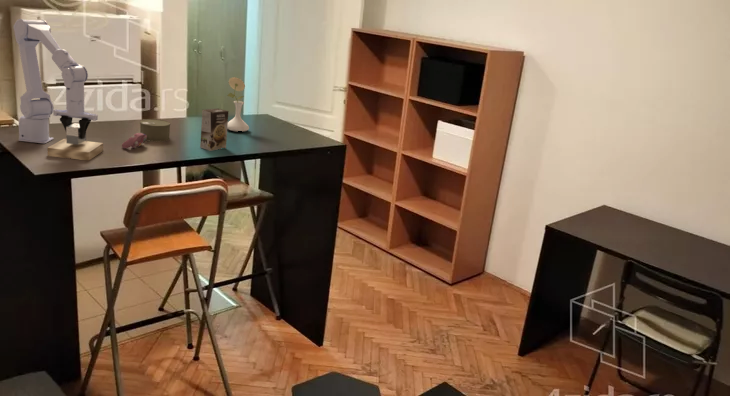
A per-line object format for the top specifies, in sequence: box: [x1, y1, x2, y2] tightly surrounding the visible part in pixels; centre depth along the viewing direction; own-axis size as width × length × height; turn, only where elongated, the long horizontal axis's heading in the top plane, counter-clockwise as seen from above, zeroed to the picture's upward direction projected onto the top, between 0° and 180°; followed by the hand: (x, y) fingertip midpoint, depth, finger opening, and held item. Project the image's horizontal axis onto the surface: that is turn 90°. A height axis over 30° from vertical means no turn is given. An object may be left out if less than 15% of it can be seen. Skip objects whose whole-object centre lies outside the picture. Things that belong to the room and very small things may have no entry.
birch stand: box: [46, 138, 104, 162], centre depth 211 cm, size 14×14×3 cm
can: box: [139, 118, 171, 143], centre depth 245 cm, size 12×12×7 cm
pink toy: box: [121, 132, 147, 149], centre depth 229 cm, size 10×5×7 cm, turn 169°
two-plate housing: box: [65, 122, 87, 145], centre depth 210 cm, size 4×7×6 cm, turn 3°
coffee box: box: [199, 108, 229, 152], centre depth 241 cm, size 9×6×16 cm
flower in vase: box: [226, 76, 250, 132], centre depth 275 cm, size 13×11×25 cm
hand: (76, 137), depth 210 cm, fingers closed on two-plate housing, 4 cm apart
